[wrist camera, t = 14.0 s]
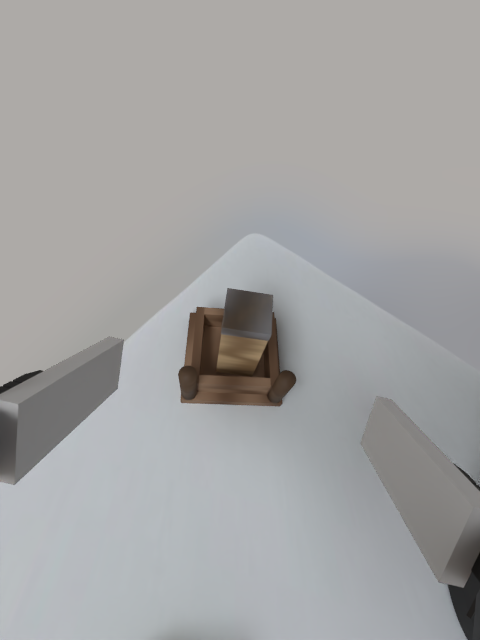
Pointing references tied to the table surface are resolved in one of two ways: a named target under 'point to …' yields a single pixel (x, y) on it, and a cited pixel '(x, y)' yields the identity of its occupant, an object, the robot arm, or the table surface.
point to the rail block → (244, 331)
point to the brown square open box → (222, 387)
